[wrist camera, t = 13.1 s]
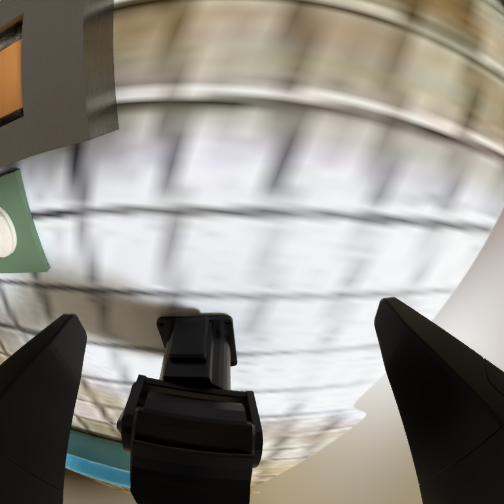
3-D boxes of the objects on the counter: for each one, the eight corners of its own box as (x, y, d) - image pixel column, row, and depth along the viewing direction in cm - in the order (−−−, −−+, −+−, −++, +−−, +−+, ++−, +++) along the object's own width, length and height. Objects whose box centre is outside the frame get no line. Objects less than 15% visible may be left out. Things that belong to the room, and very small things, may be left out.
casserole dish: (61, 445, 48) (55, 467, 42) (20, 404, 37) (10, 431, 31) (196, 474, 51) (195, 499, 45) (187, 446, 40) (185, 481, 34)
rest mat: (49, 268, 20) (46, 271, 20) (-6, 270, 20) (-9, 273, 19) (19, 169, 16) (15, 171, 15) (-34, 189, 15) (-38, 191, 15)
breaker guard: (118, 129, 15) (90, 139, 12) (-25, 174, 15) (-53, 191, 12) (115, -29, 9) (91, -50, 6) (-34, 53, 9) (-64, 57, 5)
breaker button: (42, 101, 13) (32, 102, 12) (-3, 122, 13) (-13, 125, 12) (41, 34, 10) (31, 33, 9) (-6, 61, 10) (-16, 62, 9)
